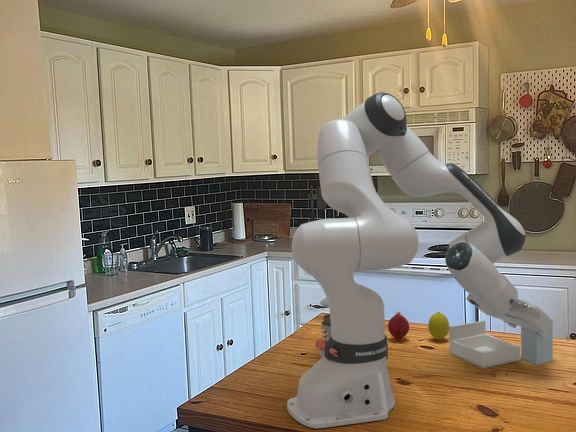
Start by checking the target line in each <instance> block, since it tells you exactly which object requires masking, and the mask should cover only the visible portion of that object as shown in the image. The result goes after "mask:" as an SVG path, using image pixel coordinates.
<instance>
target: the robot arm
mask: <svg viewBox="0 0 576 432" xmlns="http://www.w3.org/2000/svg"><path fill="white" fill-rule="evenodd" d="M407 121H408V120H407V113H406V110H405V108H404V106H403V104H402V103H401V101H400V100H399V99H398V98H397V97H396V96H394V95H392V94H391V93H387V92H384V91H379V92H377V93H374V94H372V95H371V96H369V97H367V98H366V100H365V101H363V102H362V103H360V104H359V105H358V106H356V107H355V108H354V109H353V110H351V111H350V112H348V113H347V114H346V115H345V116H344V117H343V118H339V119H333V120H330V121H328V122H326V123H325V124H324V125H323V126H322V128H321V129H320V130H319V132H318V136H317V137H318V139H317V153H316V155H317V166H318V167H317V168H318V177H319V184H320V193H321V197H322V199H323V200H324V202H325V203H326V204H327V206H329V207H330V208H331V209H333V210H334V211H337V212H339V213H342V214H343V215H345V216H347V217H340V218H339V217H337V218H321V219H318V220H314V221H309V222H305V223H301V224H300V225H299V226H298V228H297V229H296V230H295V232H294V234H293V235H292V236H293V237H292V240H291V252H292V256H293V258H294V259H293V260H294V261H295V263H296V264H297V265H298V266H299V268H301V270H303V271H304V272H306V273H308V274H309V275H310V276H311V277H312V278H313V279H314V280H315V281H316V282H317V284H319V285H320V287H321V289H322V290H323V292H324V294H325V298H327V300H328V304H329V307H328V309H329V314H330V319H331V336H330V338H329V340H328V342H325V341H323V340H324V339H323V338H317V339H315V341H314V346H315V348H316V349H318V350H319V351H321V350H324V356H323V357H322V356H321V358H320V359H319V360H318V361H317V362H316V363H314V365H312V366H311V367H310V368H309V369H308V370H307V371H306V372H305V373H304V374H302V375H301V376H300V379H299V382H298V386H297V394H296V396H295V397H291V398H289V399H288V400H287V402H286V409H287V412H288V413H289V415H290V416H291V417H292V418H293V419H295V421H296V422H298V423H300V424H301V425H303V426H305V427H308V428H311V429H324V428H325V429H326V428H333V427H339V426H346V425H354V424H355V425H356V424H363V423H368V422H376V421H383V420H387V419H388V418H389V412H390V411H391V410H392V409H393V408H394V406H395V405H396V400H395V397H394V393H393V390H392V387H391V382H390V377H389V372H388V371H389V370H388V363H387V361H388V356H389V348H388V346H389V344H388V335H386V327H385V323H386V322H385V321H386V320H385V303H384V300H383V299H382V297H381V295H379V293H378V292H376V291H375V290H373V289H372V288H369V287H367V286H364V285H362V284H359V283H358V282H355V280H354V279H355V278H354V274H355V272H359V271H360V272H362V271H378V270H380V271H381V270H391V269H394V268H398V267H399V268H400V267H401V266H406V265H409V264H410V263H411V262H412V261H413V260H414V259H415V256H416V255H417V253H418V249H419V235H418V232H417V230H416V228H415V227H414V225H413V223H411V221H409V219H407V218H405V217H403V216H402V215H400V214H398V213H396V212H395V211H394V210H392V208H390V207H389V206H388V205H387V204H386V203H385V202H384V201H383V200H382V199H381V197H380V196H379V194H378V192H377V191H376V188H375V185H374V181H373V177H372V174H371V168H370V163H369V158H368V157H369V156H370V155H372V154H373V153H376V154H377V155H378V156H379V159H380V161H381V162H382V164H383V165H384V168H385V169H386V171H387V172H388V175H389V176H390V177H391V179H392V180H393V182H394V183H395V184H396V185H397V187H398V188H399V189H400V190H401V191H402V192H403V193H404V194H406V195H407V196H408V195H409V196H411V197H417V198H420V197H421V198H422V197H423V198H424V197H430V196H435V195H439V194H444V193H446V194H447V193H456V194H459V195H461V196H462V197H463V198H465V199H466V200H467V201H468V202H469V204H471V206H473V207H474V208H475V209H476V210H477V211H478V212H479V213H480V214H481V215H482V216H483V217H484V218H485V220H484V221H483V222H482V223H480V224H478V225H477V226H474V227H473V228H471V229H469V230H468V231H465V232H463V233H462V234H460V235H459V236H458V237H456V238H453V240H452V241H450V242H449V243H448V246H447V248H446V249H447V250H446V255H445V265H446V267H447V269H448V271H449V273H450V275H452V277H453V279H455V281H456V283H458V284H459V286H460V287H462V288H463V290H464V291H465V292H467V293H468V295H467V297H466V298H465V299H466V300H467V302H468V303H469V304H472V305H474V306H475V307H476V308H477V309H478V310H479V311H480V312H482V313H484V314H485V315H487V316H489V317H491V318H494V319H498V320H501V321H503V322H504V323H506V325H508V326H509V327H510V328H514V329H516V328H517V326H519V327H520V328H521V327H524V328H527V329H530V330H533V331H536V332H537V333H536V334H537V335H538V336H539V337H542V338H546V337H547V335H548V331H549V329H550V328H551V326H552V324H553V325H554V321H553V319H552V318H551V317H550V316H549V315H548V314H546V312H544V311H543V309H541V308H540V307H539V305H538V306H537V305H536V304H535V303H533V302H530V301H526V300H522V299H519V292H518V289H517V288H516V287H515V286H514V285H513V283H512V282H511V281H510V280H509V279H508V278H507V277H506V276H505V275H504V273H501V272H499V271H498V268H497V267H496V265H495V264H496V263H497V262H499V261H501V260H503V259H505V258H506V257H510V256H512V255H514V254H516V253H518V252H521V251H522V250H523V247H524V246H525V243H526V237H527V234H526V231H525V229H524V228H523V225H522V224H521V223H520V222H519V221H518V219H516V218H515V217H514V216H513V215H511V214H510V213H509V212H508V211H506V210H505V209H504V208H503V207H502V206H501V205H500V204H499V203H498V202H497V201H496V200H495V199H493V197H492V196H491V195H490V194H489V193H488V192H486V191H485V189H483V188H482V186H481V185H480V184H479V183H477V182H476V181H475V180H474V178H473V177H471V175H469V174H468V173H467V172H466V171H465V170H464V169H462V168H461V167H459V166H458V165H457V164H455V163H453V162H451V163H450V162H449V163H448V162H447V163H445V162H443V161H441V160H439V159H438V158H436V157H435V156H434V155H433V154H432V153H431V151H430V150H429V149H428V147H427V146H426V145H425V144H424V142H423V141H422V140H421V139H420V137H419V136H418V135H417V134H416V133H415V132H414V131H413V130H412V129H411V128H410V126H408V125H407Z"/></svg>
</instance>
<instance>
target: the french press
mask: <svg viewBox="0 0 576 432" xmlns="http://www.w3.org/2000/svg"><path fill="white" fill-rule="evenodd" d="M319 304H320V305H321V306H323V307H326V308H329V304H328V300H327V297H325V298H322V300H320V302H319ZM322 320H323V321H321V329H323V330H321V333H322V334H321V339H322V340H323V341H325V342H326V343H327V342H328V340H329V338H330V336H331V319H330V313H328V314H324V315H323V316H322ZM318 354H319V355H320V357H321V358H322V357H323V356H324V350H319V352H318Z"/></svg>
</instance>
